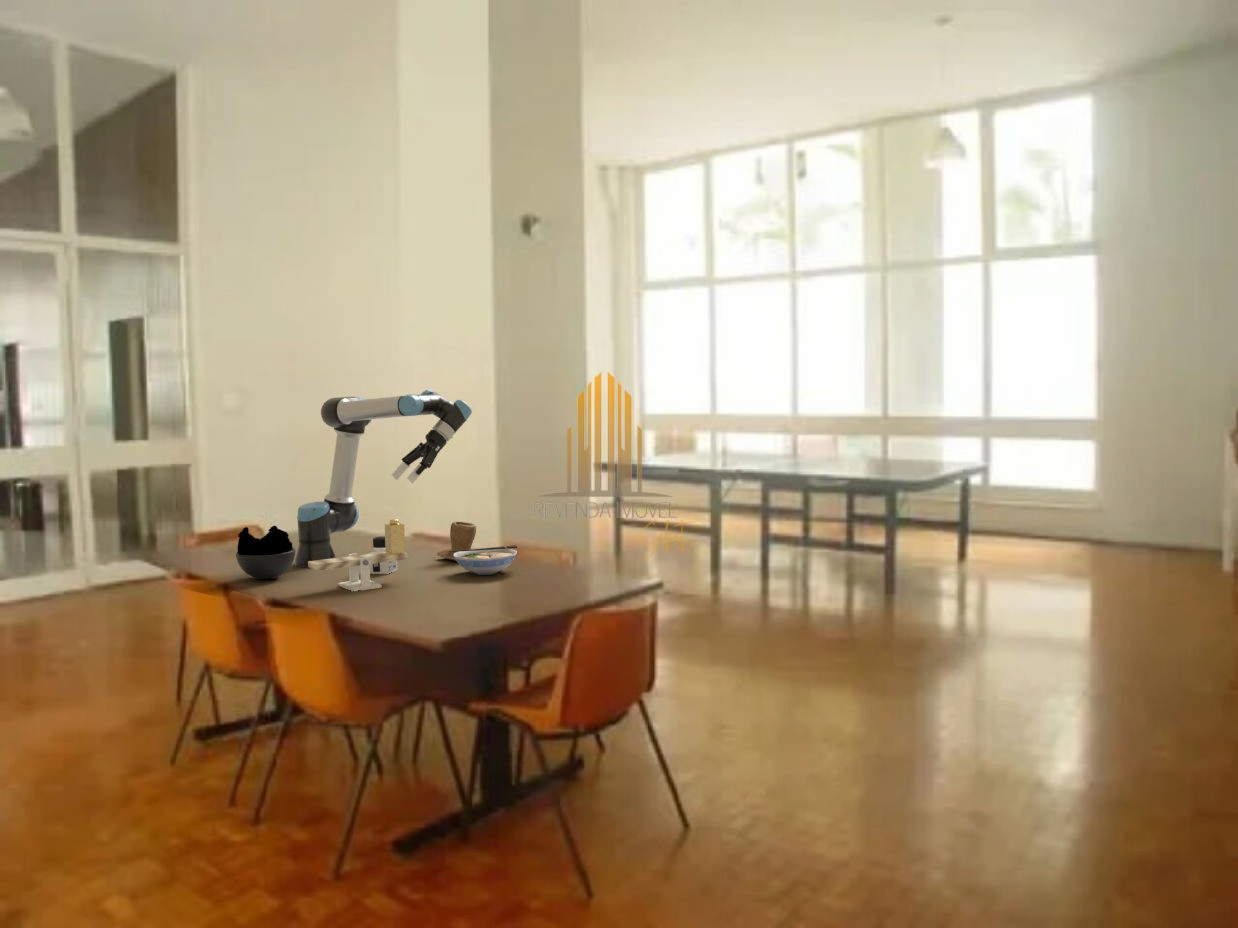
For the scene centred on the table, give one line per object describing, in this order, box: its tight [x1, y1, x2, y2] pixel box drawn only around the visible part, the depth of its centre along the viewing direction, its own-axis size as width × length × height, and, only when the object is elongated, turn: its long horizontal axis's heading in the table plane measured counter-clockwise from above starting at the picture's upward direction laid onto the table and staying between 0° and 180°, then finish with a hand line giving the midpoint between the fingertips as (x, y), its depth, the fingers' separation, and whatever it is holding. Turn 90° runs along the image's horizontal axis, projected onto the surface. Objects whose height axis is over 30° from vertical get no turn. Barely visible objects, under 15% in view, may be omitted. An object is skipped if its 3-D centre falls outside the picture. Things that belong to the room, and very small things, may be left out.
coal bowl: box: [235, 525, 296, 580], centre depth 354 cm, size 20×20×19 cm
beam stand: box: [338, 553, 382, 592], centre depth 338 cm, size 10×13×10 cm
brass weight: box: [384, 518, 406, 555], centre depth 345 cm, size 5×5×12 cm
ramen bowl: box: [449, 544, 518, 576], centre depth 357 cm, size 25×23×8 cm
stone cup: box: [436, 520, 477, 562], centre depth 386 cm, size 15×12×15 cm
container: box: [367, 535, 398, 575], centre depth 364 cm, size 8×8×13 cm
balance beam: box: [307, 552, 409, 572], centre depth 337 cm, size 32×8×2 cm, turn 126°
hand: (401, 479), depth 358 cm, fingers open, 13 cm apart
